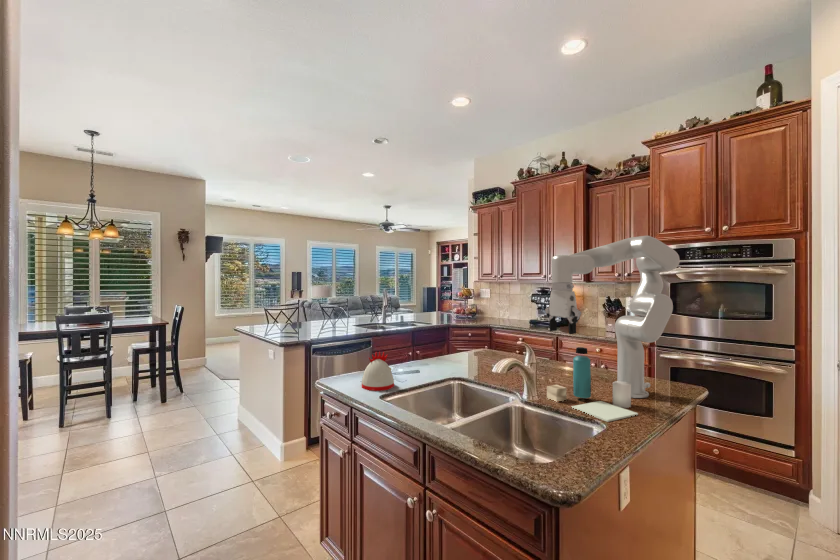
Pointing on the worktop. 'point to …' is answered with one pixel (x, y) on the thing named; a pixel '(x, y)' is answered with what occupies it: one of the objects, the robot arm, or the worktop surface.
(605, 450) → the worktop surface
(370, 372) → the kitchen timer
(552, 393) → the birch block
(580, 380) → the beverage bottle
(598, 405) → the sage mat
